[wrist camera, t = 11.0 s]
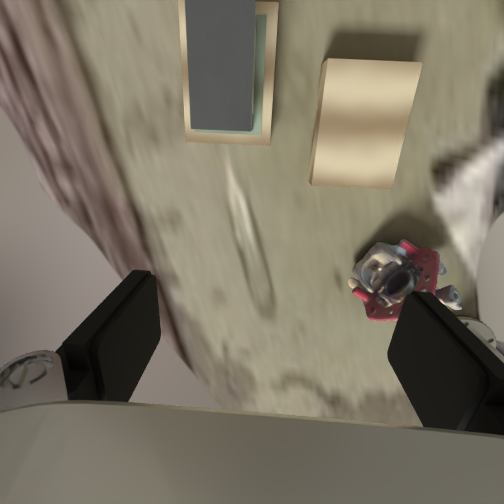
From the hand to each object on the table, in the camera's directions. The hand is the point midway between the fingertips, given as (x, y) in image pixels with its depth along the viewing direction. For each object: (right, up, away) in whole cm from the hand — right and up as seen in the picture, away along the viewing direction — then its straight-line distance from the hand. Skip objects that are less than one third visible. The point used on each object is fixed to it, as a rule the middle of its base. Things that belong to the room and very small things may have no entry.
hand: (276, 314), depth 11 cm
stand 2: (+11, +16, +21) cm, 29 cm away
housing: (-3, +19, +17) cm, 26 cm away
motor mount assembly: (+18, 0, +29) cm, 34 cm away
